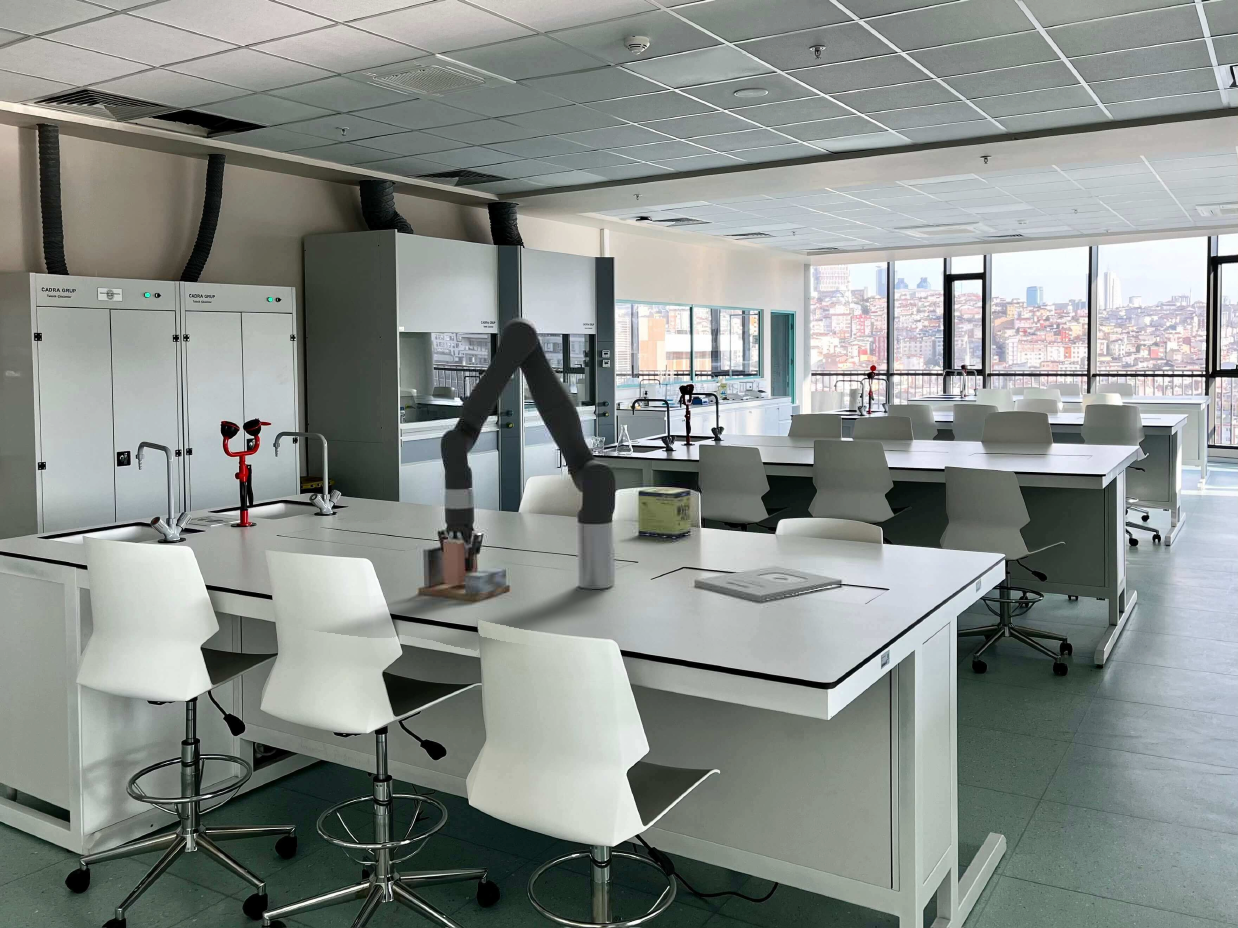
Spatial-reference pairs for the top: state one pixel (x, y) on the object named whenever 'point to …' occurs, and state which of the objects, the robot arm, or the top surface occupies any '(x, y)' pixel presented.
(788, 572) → the award plaque
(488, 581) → the rack
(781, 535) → the top surface
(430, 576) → the bookend
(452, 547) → the orange upright rectangular block
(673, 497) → the protein box
